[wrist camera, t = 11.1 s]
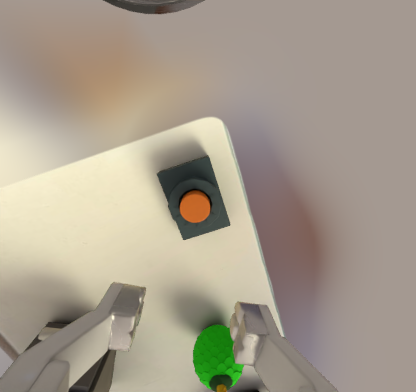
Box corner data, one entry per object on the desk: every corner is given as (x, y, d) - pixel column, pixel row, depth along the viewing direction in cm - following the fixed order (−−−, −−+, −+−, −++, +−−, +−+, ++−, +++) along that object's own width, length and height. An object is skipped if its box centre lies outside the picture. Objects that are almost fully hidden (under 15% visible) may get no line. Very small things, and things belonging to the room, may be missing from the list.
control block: (159, 171, 26) (153, 176, 23) (208, 155, 26) (209, 157, 22) (184, 233, 29) (182, 247, 25) (228, 219, 29) (233, 231, 25)
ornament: (184, 326, 34) (179, 399, 24) (223, 305, 33) (233, 372, 23) (209, 353, 36) (213, 430, 26) (246, 334, 35) (264, 406, 26)
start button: (176, 195, 24) (175, 199, 22) (204, 186, 24) (204, 189, 22) (186, 220, 25) (185, 226, 23) (212, 212, 25) (214, 217, 23)
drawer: (49, 301, 30) (-1, 353, 23) (116, 310, 31) (90, 363, 24) (47, 375, 34) (5, 440, 27) (107, 381, 35) (82, 445, 28)
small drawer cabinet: (48, 322, 32) (-12, 394, 23) (118, 330, 34) (88, 402, 24) (47, 378, 36) (-5, 460, 26) (111, 384, 37) (82, 465, 28)
